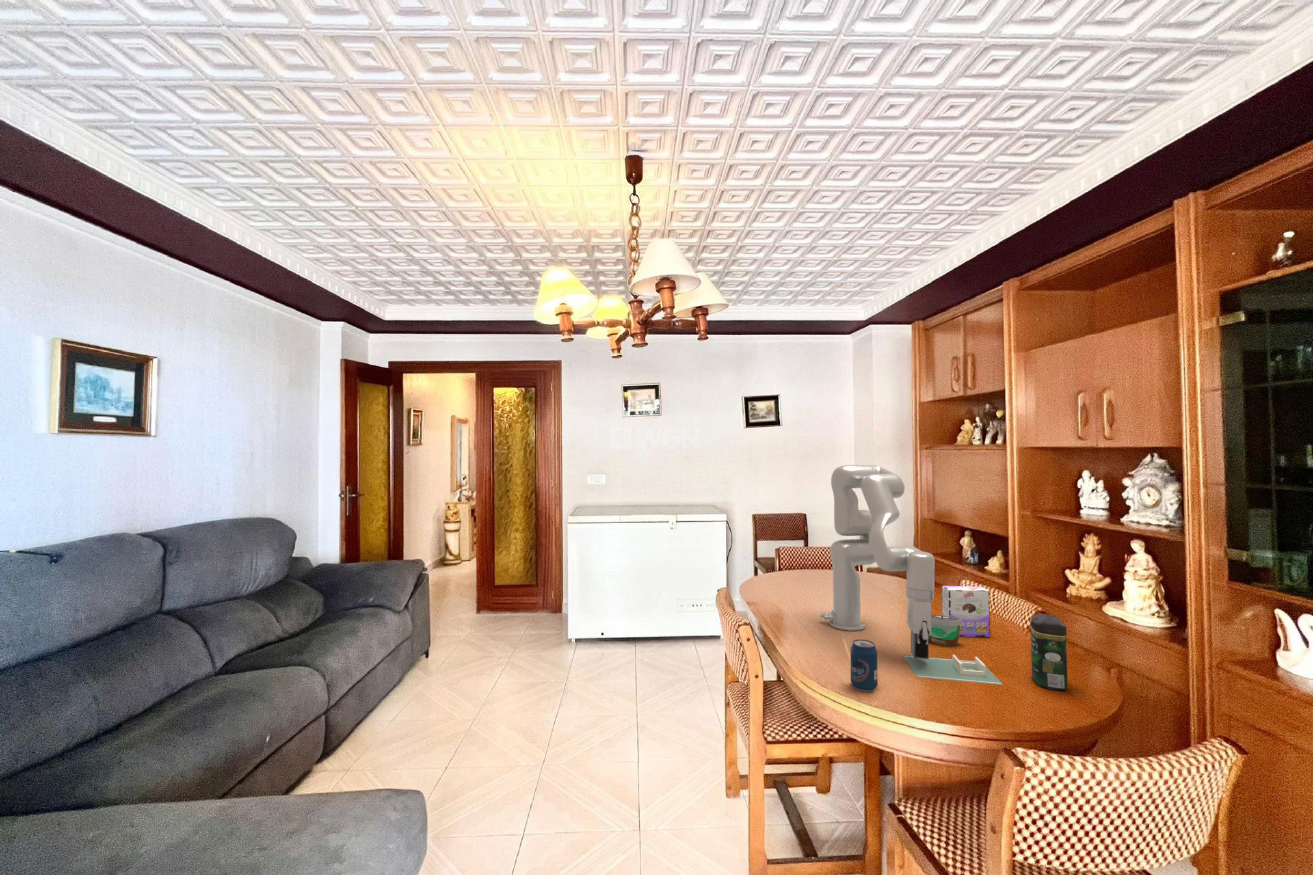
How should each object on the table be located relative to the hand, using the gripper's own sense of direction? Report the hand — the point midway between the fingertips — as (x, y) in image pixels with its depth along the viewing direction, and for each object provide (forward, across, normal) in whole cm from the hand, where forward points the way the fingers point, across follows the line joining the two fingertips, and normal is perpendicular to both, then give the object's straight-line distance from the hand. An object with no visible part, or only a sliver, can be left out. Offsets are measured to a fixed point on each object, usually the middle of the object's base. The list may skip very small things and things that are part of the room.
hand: (919, 652), depth 160 cm
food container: (+4, -18, +11) cm, 22 cm away
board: (+4, +4, +7) cm, 9 cm away
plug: (+1, 0, 0) cm, 1 cm away
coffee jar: (+4, +5, +32) cm, 33 cm away
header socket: (+2, +4, +12) cm, 13 cm away
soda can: (+4, +19, -19) cm, 27 cm away
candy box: (+5, -33, +23) cm, 41 cm away
